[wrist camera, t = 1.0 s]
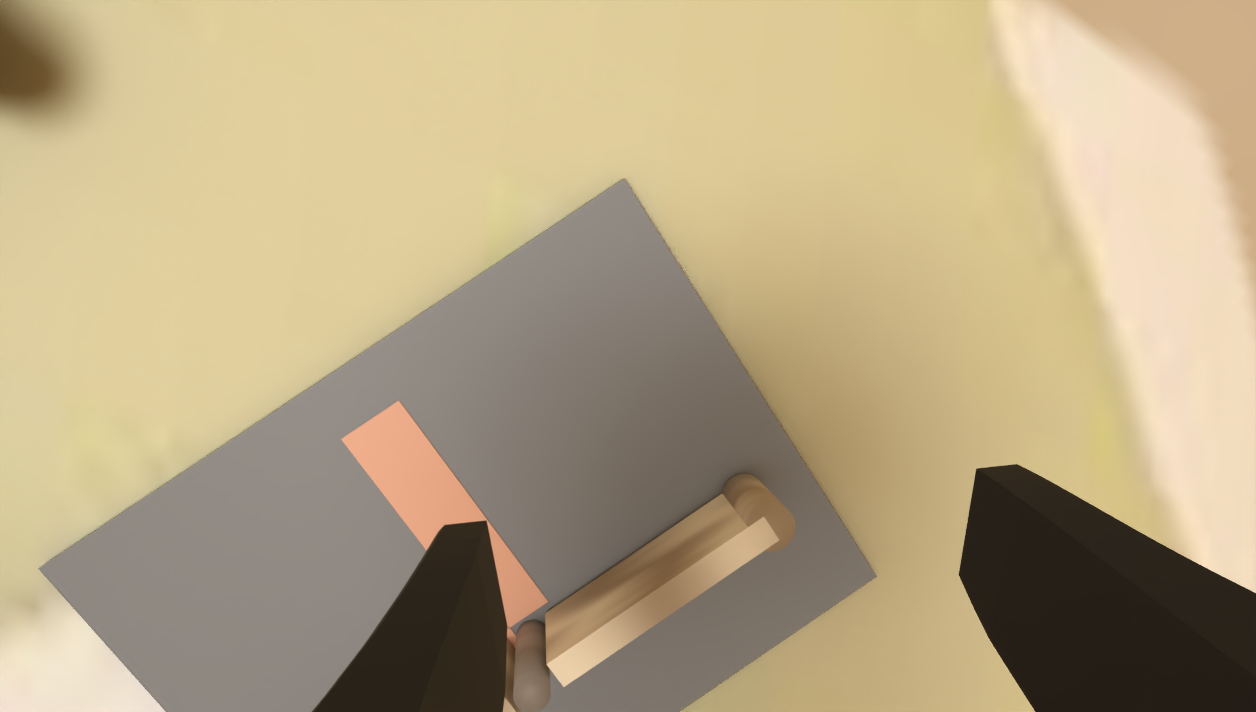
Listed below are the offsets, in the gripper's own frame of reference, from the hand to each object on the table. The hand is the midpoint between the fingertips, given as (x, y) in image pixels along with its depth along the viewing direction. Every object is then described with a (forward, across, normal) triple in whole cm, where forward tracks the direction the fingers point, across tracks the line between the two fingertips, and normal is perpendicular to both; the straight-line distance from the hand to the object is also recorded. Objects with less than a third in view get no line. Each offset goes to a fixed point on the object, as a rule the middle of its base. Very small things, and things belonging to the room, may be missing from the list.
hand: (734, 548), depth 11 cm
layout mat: (+13, +7, +12) cm, 19 cm away
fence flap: (+13, 0, +12) cm, 18 cm away
